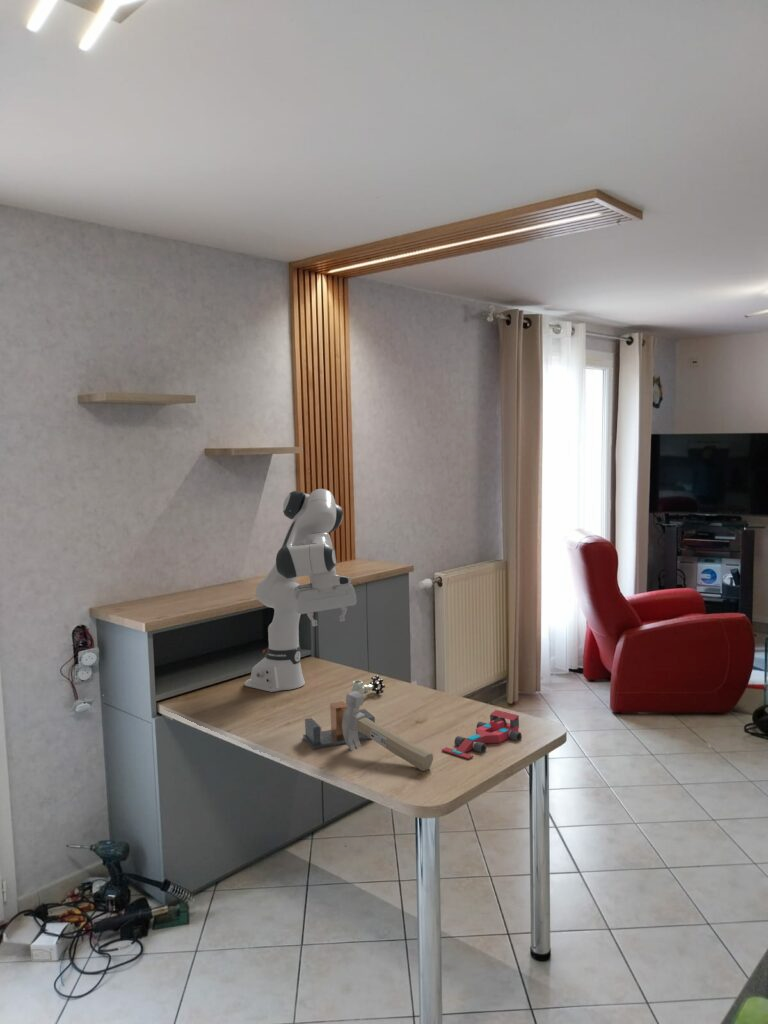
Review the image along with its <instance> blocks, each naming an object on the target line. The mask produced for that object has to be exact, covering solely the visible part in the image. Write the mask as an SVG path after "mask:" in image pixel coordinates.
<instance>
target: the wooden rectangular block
mask: <svg viewBox="0 0 768 1024" xmlns="http://www.w3.org/2000/svg"><path fill="white" fill-rule="evenodd" d="M329 704H330V705H329V706H330V707H329V708H330V709H329V710H330V730H331V733H332V734H333V735H334V736H335V737H336V738H342V737H344V736H343V729H342V720H343V714H344V711H345V710H346V709H347V704H346V702H345V701H337V702H332V703H329Z"/></svg>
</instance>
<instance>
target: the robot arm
mask: <svg viewBox="0 0 768 1024" xmlns="http://www.w3.org/2000/svg"><path fill="white" fill-rule="evenodd" d="M282 508H283V510H282V512H283V514H284V516H285V517H287V518H288V519H290V520H292V522H291V523H290V526H289V527H288V529H287V532H286V534H285V536H284V539H283V542H282V545H281V547H280V549H279V550H278V551H277V553H276V555H275V563H274V565H273V566H272V568H271V569H270V572H268V574H267V576H266V577H264V579H263V580H261V581H260V582H259V583H258V584H257V586H256V590H255V595H256V598H257V600H258V601H259V602H260V603H261V604H262V605H264V606H265V607H266V608H272V609H273V610H274V612H273V618H272V621H271V623H270V624H269V625H268V627H267V632H268V633H267V634H268V635H267V636H268V639H267V640H268V647H267V648H265V649H263V650H262V654H265V655H264V657H263V658H262V659H261V660H260V661H259V662H257V663H256V664H255V665H254V666H253V667H252V669H251V673H250V678H248V679H247V680H246V681H244V686H245V687H248V688H253V689H257V690H262V691H266V692H270V693H274V692H280V691H287V690H288V691H289V690H295V689H299V688H300V687H302V686H305V684H306V682H305V678H304V675H303V672H302V670H303V669H302V665H301V657H302V653H301V645H300V636H299V635H300V631H299V625H300V619H301V615H304V614H305V615H307V617H308V618H309V620H310V621H311V626H312V627H317V626H318V625H319V624H318V620H317V619H315V618H313V617H314V613H318V612H323V611H328V610H334V609H335V610H336V609H340V610H341V614H340V615H338V621H339V622H345V621H346V619H345V618H346V617H345V616H346V613H347V612H348V608H347V607H352V606H353V607H354V606H355V605H356V604H357V595H356V591H355V587H354V585H352V577H349V576H343V575H341V574H337V570H336V565H337V563H338V562H337V561H338V560H337V553H336V548H335V547H334V546H333V542H332V539H331V536H330V533H332V532H334V531H336V530H338V528H339V527H340V526H341V524H342V522H343V519H344V516H343V515H344V511H343V507H342V506H340V505H339V504H337V503H336V500H335V497H334V494H333V493H332V492H331V491H330V490H328V489H325V488H317V489H314V490H313V491H311V492H310V493H305V492H303V491H299V490H293V491H291V492H289V494H288V495H287V496H286V497H285V499H284V501H283V507H282ZM305 576H309V583H307V584H300V583H298V582H296V580H297V579H298V577H305Z"/></svg>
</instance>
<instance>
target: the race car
mask: <svg viewBox="0 0 768 1024" xmlns="http://www.w3.org/2000/svg"><path fill="white" fill-rule="evenodd" d="M519 718H520V715H518V714H516V713H515V714H514V713H510V712H507V711H501V710H498V709H495V710H494V711H492V712H491V713H490V714H489V722H488V723H486V722H484V721H478V722H477V724H476V728H475V732H476V733H474V734H473V735H471V736H468V737H463V736H459V735H457V736H455V738H454V741H453V742H454V745H455V746H457V748H456V749H454V748H450V747H447V746H446V747H443V748H442V749H441V752H445V753H448V754H450V755H454V756H457V757H461V758H462V759H463V758H464V759H467V760H469V759H471V758H473V757H474V755H472V754H468V752H470V751H472V750H473V752H477V753H479V754H482V753H483V752H487V744H500V743H501V742H504V741H506V740H507V739H509V740H511V741H515V742H518V740H522V732H519V728H520V719H519ZM507 720H509V722H507Z"/></svg>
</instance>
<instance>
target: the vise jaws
mask: <svg viewBox="0 0 768 1024" xmlns="http://www.w3.org/2000/svg"><path fill="white" fill-rule="evenodd" d="M359 712H361V713H363V714H365V717H366V718H368V719H369V720H371V721H373V722H374V723H376V722H375V721H376V719H375V718H376V717H375V716H374V715H373V714H372V713H370V712H369V711H368V710H366V708H364V709H359ZM304 724H305V725H304V728H305V730H304V731H305V733H304V734H302V738H303V740H304V741H305V742H306V743H307V744H308V745H309V747H310V748H311V749H312V750H317V749H318V750H319V749H324V748H329V747H334V746H341V745H345V744H346V742H345V739H344V737H342V738H336V737H335V736H334V735H333V734H332V733H331V729H327V730H324V731H323V729H322V726H321V725H320V724H318V722H317V721H316V720H314V719H313V718H312V717H310V718H305V719H304ZM357 732H358V738H359V741H360V742H362V741H365V740H366V741H367V740H372V739H371V738H370V737H368V736H366V735H365V734H363V733H361V732H359V731H357ZM346 745H347V744H346Z"/></svg>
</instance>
